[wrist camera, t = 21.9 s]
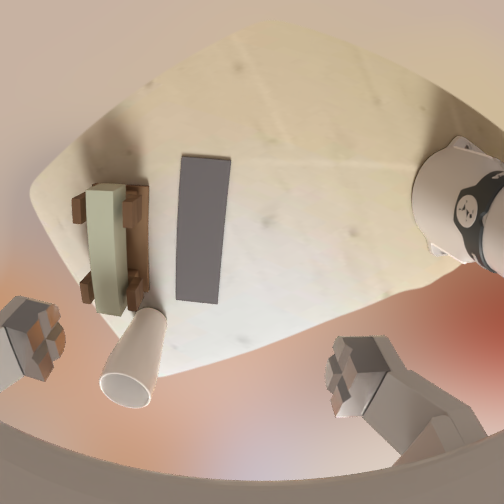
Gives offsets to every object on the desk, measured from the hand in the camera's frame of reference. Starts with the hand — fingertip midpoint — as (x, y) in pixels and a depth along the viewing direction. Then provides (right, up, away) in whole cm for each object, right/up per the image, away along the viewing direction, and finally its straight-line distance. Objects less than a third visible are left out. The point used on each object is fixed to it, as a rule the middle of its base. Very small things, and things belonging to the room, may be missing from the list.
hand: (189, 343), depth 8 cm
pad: (-5, +5, +32) cm, 32 cm away
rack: (-16, +4, +31) cm, 35 cm away
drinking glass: (-14, -8, +37) cm, 40 cm away
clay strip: (-16, +3, +29) cm, 33 cm away
